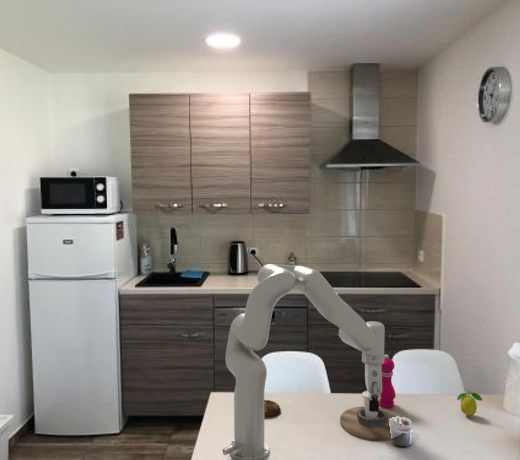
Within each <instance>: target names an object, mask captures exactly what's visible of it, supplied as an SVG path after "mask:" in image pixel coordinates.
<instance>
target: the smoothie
mask: <svg viewBox="0 0 520 460" xmlns="http://www.w3.org/2000/svg"><path fill="white" fill-rule="evenodd" d="M371 391H372V390H371ZM372 395H373V394H372ZM378 397H379V403H380V399H381V394H380V393H379V392H378ZM362 398H363V407H365V416H366V418H369V419H377V416H378V412H370V411H369V400H370V393H369V392H368V391H366V390H364V391H363V392H362Z"/></svg>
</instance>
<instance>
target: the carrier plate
mask: <svg viewBox="0 0 520 460" xmlns="http://www.w3.org/2000/svg"><path fill="white" fill-rule="evenodd" d="M396 416H399V415H398V414H397V413H395V412H394V411H391V410H389V409H385V408H381V407H379V412H378V416H377V419H369V418H366V416H365V407H364V406H356V407H352V408H349V409H346V410H344V411H343V412H342V413H341V414H340V419H339V421H340V422H339V423H340V426H341V428H342V429H343V430H344V431H345V432H346V433H348V434H350V435H352V436H353V437H357V438H360V439H363V440H369V441H389V440H390V441H391V440H392V439H391V433H390V426H389V419H390V418H392V417H396Z"/></svg>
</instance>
